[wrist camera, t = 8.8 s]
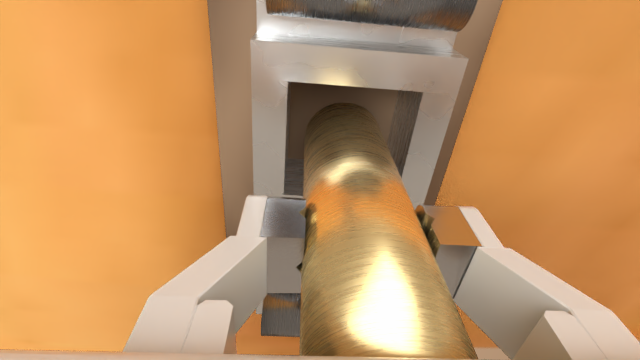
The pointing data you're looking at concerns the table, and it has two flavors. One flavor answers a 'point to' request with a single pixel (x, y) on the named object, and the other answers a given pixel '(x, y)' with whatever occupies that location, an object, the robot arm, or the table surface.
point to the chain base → (311, 98)
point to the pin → (368, 252)
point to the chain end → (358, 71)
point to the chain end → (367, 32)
